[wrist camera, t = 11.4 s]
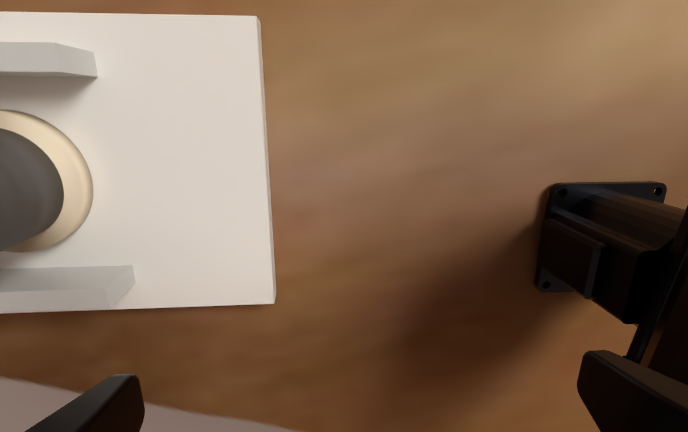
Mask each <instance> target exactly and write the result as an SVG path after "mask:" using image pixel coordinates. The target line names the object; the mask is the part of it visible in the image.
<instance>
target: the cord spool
mask: <svg viewBox="0 0 688 432" xmlns="http://www.w3.org/2000/svg"><path fill="white" fill-rule="evenodd" d="M92 202H93V181H92V177H91V173H90V170H89V168H88V165H87V163H86V161H85V159H84V157H83V155H82V154H81V152H80V151H79V150H78V148H77V147H76V145H75V144H74V143H73V142H72V141H71V140H70V139H69V138H68V137H67V136H66V135H65V134H64V133H63V132H62V131H60V130H59V129H58V128H56V127H55V126H53V125H52V124H50V123H48V122H47V121H45V120H43V119H41V118H39V117H36V116H34V115H31V114H28V113H25V112H21V111H16V110H6V109H0V252H1V251H6V252H19V253H22V252H32V251H37V250H41V249H44V248H47V247H49V246H51V245H53V244H55V243H57V242H59V241H61V240H62V239H64V238H66V237H68V236H70V235H71V234H73V233H74V232H75V231H77V230H78V229H79V228H80V227H81V226H82V224H83V223H84V222H85V220H86V218H87V217H88V215H89V213H90V210H91V207H92Z"/></svg>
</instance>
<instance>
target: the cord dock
mask: <svg viewBox="0 0 688 432" xmlns="http://www.w3.org/2000/svg"><path fill="white" fill-rule="evenodd" d="M0 109H6V110H16V111H21V112H25V113H28V114H31V115H34V116H36V117H39V118H41V119H43V120H45V121H47V122H48V123H50V124H52V125H53V126H55V127H56V128H58V129H59V130H60V131H62V132H63V133H64V134H65V135H66V136H67V137H68V138H69V139H70V140H71V141H72V142H73V143H74V144H75V145H76V147H77V148H78V150H79V151H80V152H81V154H82V155H83V157H84V159H85V161H86V163H87V165H88V168H89V170H90V173H91V177H92V181H93V202H92V207H91V210H90V213H89V215H88V217H87V218H86V220H85V222H84V223H83V224H82V226H81V227H80V228H79V229H78V230H77V231H75V232H74V233H73V234H71V235H70V236H68V237H66V238H64V239H62V240H61V241H59V242H57V243H55V244H53V245H51V246H49V247H47V248H44V249H41V250H37V251H32V252H22V253H19V252H6V251H1V252H0V314H3V313H31V312H58V311H86V310H114V309H141V308H169V307H197V306H224V305H252V304H274V302H275V297H276V278H275V261H274V245H273V228H272V211H271V194H270V177H269V160H268V143H267V126H266V110H265V93H264V76H263V59H262V42H261V25H260V21H259V19H258V18H257V16H225V15H166V14H107V13H49V12H0Z"/></svg>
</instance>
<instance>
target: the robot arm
mask: <svg viewBox="0 0 688 432" xmlns="http://www.w3.org/2000/svg"><path fill="white" fill-rule="evenodd" d="M561 189H562V190H563V192H562V194H561V195H560V196H558V193H559V191H560V190H561ZM655 189H656V191H655V193H654V190H655ZM666 190H667V188H666V185H665V184H663V183H659V182H654V181H647V182H578V183H556V184H555V185H553V186H552V187H551V189H550V192H549V197H548V203H547V209H546V215H545V221H544V223H543V226H542V232H541V238H540V244H539V250H538V256H537V269H536V275H535V281H534V285H535V287H536V288H537V289H539V290H540V291H541V292H572V291H576V292H577V293H578V294H580V295H581V296H583V297H584V298H585V299H590V300H592V301H593V302H595V303H596V304H597V305H599V306H600V307H602V308H603V309H605V310H606V311H607V312H609V313H610V314H612V315H613V316H614V317H616V318H617V319H619V320H620V321H621V322H623V323H625V324H634V325H635V326H637V327H638V328H637V330H636V332H635V335H634V337H633V340H632V342H631V345H630V347H629V349H628V352H627V354H626V356H623V357H621V356H619V355H617V354H615V353H612V352H610V351H606V350H599V351H588V352H586V353H585V354H584V355H583V358H582V363H581V367H580V371H579V376H578V380H577V389H578V393H579V395H580V397H581V399H582V401H583V402H584V404H585V406H586V408H587V409H588V411H589V413H590V414H591V416H592V418H593V419H594V421H595V423H596V425H597V426H598V428H599V430H600V431H601V432H688V206H687V208H686V210H684V209H680V208H677V207H673V206H670V205H666V204H663V203H664V199H665V195H666ZM545 281H547V282H546V284H545V285H542V284H543V283H544V282H545ZM144 413H145V408H144V402H143V397H142V392H141V387H140V382H139V378H138V377H137V375H135V374H116V375H112V376H110V377H108V378H107V379H105V380H104V381H102V382H101V383H99V384H98V385H96V386H94V387H93V388H91V389H90V390H88V391H87V392H85V393H84V394H82V395H81V396H79V397H77V398H76V399H74V400H73V401H71V402H70V403H68V404H67V405H65V406H64V407H62V408H60V409H59V410H57V411H56V412H55V413H53V414H51V415H50V416H48V417H47V418H45V419H44V420H42V421H40V422H39V423H37V424H36V425H34V426H33V427H31V428H30V429H28V430H27V431H25V432H139V431H140V428H141V425H142V423H143V419H144Z"/></svg>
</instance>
